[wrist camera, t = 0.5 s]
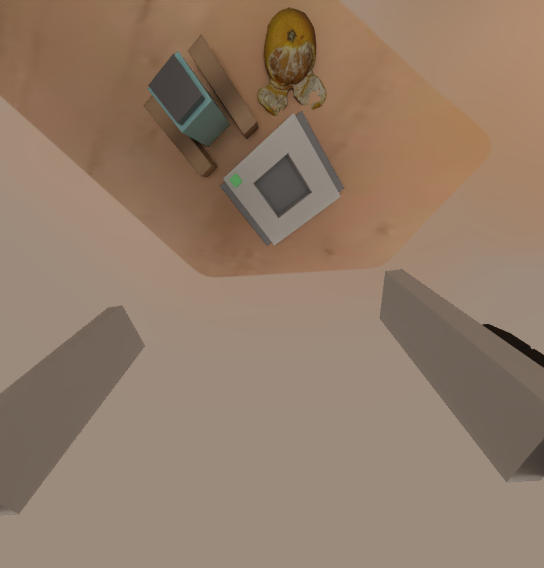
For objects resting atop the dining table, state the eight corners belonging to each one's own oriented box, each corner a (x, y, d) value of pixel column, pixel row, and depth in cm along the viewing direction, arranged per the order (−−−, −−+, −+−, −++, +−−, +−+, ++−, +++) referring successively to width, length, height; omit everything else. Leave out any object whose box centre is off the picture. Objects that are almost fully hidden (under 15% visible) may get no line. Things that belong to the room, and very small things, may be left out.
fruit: (261, 119, 27) (260, 111, 23) (248, 27, 23) (244, 1, 20) (325, 107, 26) (333, 97, 23) (323, 10, 22) (332, -19, 19)
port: (220, 185, 30) (213, 186, 26) (301, 111, 26) (305, 101, 23) (267, 244, 34) (266, 252, 30) (342, 188, 30) (352, 189, 26)
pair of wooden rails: (156, 113, 26) (143, 105, 24) (209, 50, 24) (201, 34, 21) (207, 176, 29) (200, 176, 27) (258, 127, 27) (256, 121, 24)
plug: (186, 117, 26) (141, 84, 17) (208, 92, 25) (172, 44, 16) (208, 146, 28) (177, 130, 19) (230, 124, 27) (208, 96, 18)
